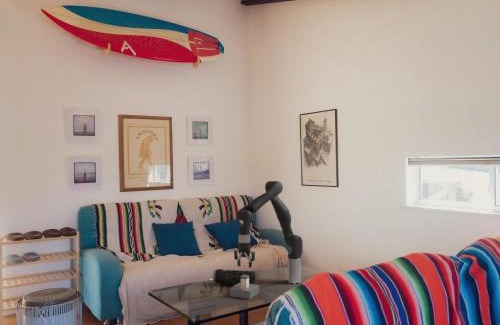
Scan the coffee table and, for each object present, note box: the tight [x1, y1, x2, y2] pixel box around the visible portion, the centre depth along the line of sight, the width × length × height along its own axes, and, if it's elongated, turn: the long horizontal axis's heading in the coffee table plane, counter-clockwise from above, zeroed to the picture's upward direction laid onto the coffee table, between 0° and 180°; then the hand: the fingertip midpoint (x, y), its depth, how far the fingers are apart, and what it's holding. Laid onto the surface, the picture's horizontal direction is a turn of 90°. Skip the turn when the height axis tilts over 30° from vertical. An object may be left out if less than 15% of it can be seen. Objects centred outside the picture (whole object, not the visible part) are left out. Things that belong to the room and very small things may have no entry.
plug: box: [241, 275, 249, 288], centre depth 278 cm, size 4×4×11 cm
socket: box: [229, 283, 260, 300], centre depth 278 cm, size 14×14×6 cm
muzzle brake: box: [212, 268, 256, 286], centre depth 300 cm, size 10×28×10 cm, turn 78°
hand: (244, 266), depth 278 cm, fingers open, 7 cm apart
